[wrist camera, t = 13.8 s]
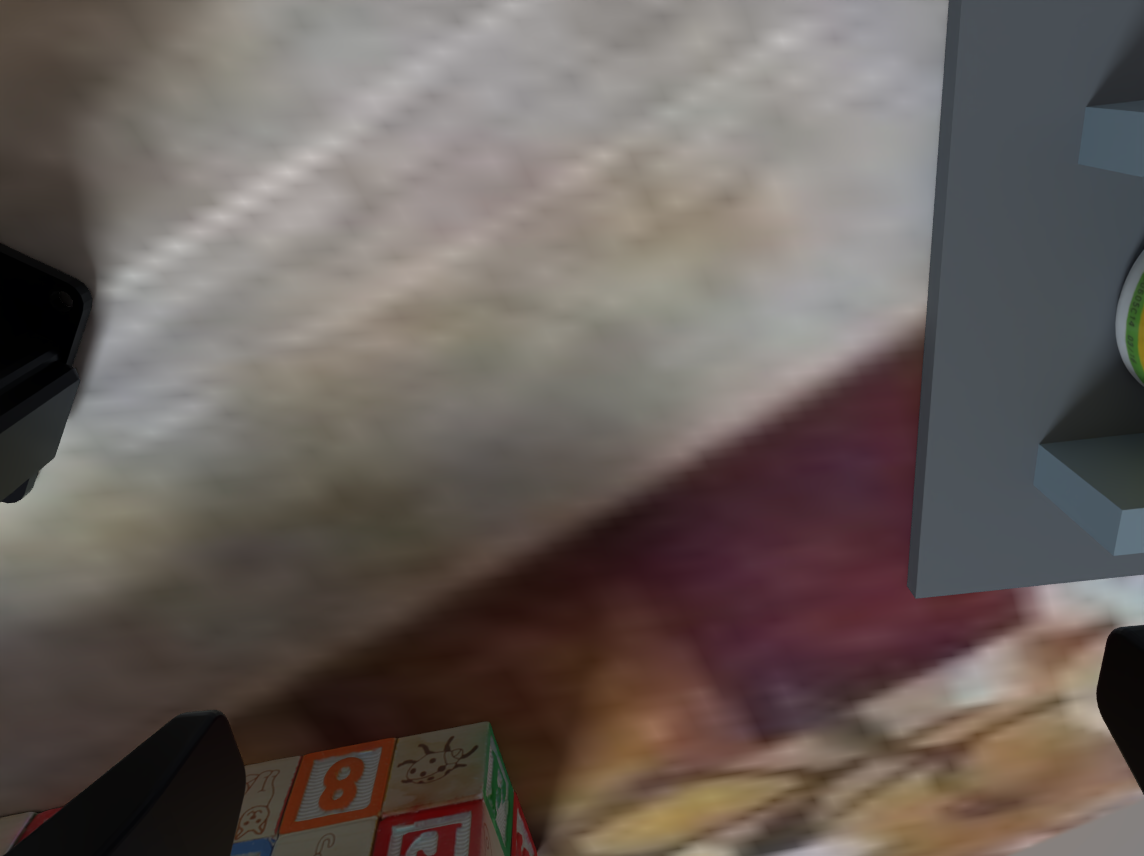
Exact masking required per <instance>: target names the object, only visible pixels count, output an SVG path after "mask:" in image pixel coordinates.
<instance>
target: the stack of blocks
mask: <svg viewBox="0 0 1144 856" xmlns="http://www.w3.org/2000/svg"><path fill="white" fill-rule="evenodd" d="M244 767H245V772H246V789H245V794H244V799H243V803H242V807H241V812H240V816H239V820H238V825H237V829H236V833H235V838H234V842H233V846H232V851H231V855H230V856H537V851H536V847H535V845H534V842H533V839H532V836H531V833H530V831H529V828H528V825H527V822H526V819H525V816H524V814H523V811H522V808H521V806H520V803H519V800H518V797H517V794H516V793H515V791H514V790H513V788H512V785H511V782H510V779H509V776H508V774H507V771H506V768H505V765H504V762H503V759H502V756H501V753H500V750H499V748H498V745H497V742H496V739H495V737H494V734H493V730H492V727H491V724H490V723H489V722H481V723H475V724H470V725H465V726H460V727H455V728H450V729H444V730H439V731H434V732H429V733H423V734H418V735H413V736H408V737H402V738H386V739H381V740H376V741H371V742H366V743H361V744H356V745H351V746H346V747H341V748H336V749H330V750H325V751H320V752H315V753H310V754H306V755H304V756H294V757H289V758H283V759H277V760H272V761H267V762H262V763H257V764H252V765H247V766H244ZM61 808H63V807H60V808H56V809H51V810H47V811H44V812H42V813H38V814H37V813H35V812H26V813H21V814H17V815H12V816H7V817H2V818H0V856H3V855H4V854H6V853H7V852H8V851H9V850H11V849H12V848H13V847H14V846H15V845H17V844H18V843H19V842H20V841H22V840H23V839H24V838H25V837H27V836H28V835H29V834H30V833H32V832H33V831H34V830H35V829H37V828H38V827H39V826H40V825H42V824H43V823H44V822H45V821H47V820H48V819H49V818H50V817H52V816H53V815H54V814H55V813H56V812H58V811H59V810H60V809H61Z"/></svg>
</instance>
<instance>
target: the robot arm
mask: <svg viewBox="0 0 1144 856" xmlns="http://www.w3.org/2000/svg"><path fill="white" fill-rule="evenodd" d="M59 291H63V292H65V293H67V294H68V295H69V296H70V297H71V299H72V301H73V307H69V306H67V305H65V304H64V303H63V302H62V301H61V299H60V297H59ZM91 307H92V296H91V293H90V291H89V289H88V288H87V287H86V286H85V284H84V283H82V282H81V281H79V280H78V279H76V278H74V277H72V276H70V275H68V274H66V273H63V272H61V271H59V270H57V269H55V268H53V267H51V266H48V265H46V264H44V263H42V262H40V261H38V260H35V259H33V258H31V257H29V256H27V255H25V254H23V253H20V252H18V251H16V250H14V249H12V248H10V247H8V246H5V245H3V244H1V243H0V502H5V503H15V502H17V501H19V500H21V499H22V498H23V497H25V496H26V495H27V494H28V493H29V492H30V491H31V490H32V488H33V486H34V483H35V480H36V477H37V474H38V471H39V470H40V469H41V468H43V467H44V466H45V465H46V464H47V463H49V462H50V461H51V460H52V459H53V458H54V457H55V455H56V452H57V449H58V446H59V443H60V440H61V437H62V434H63V431H64V428H65V425H66V422H67V419H68V416H69V413H70V410H71V407H72V404H73V401H74V398H75V395H76V391H77V388H78V385H79V382H80V379H79V376H78V373H77V370H76V368H74V367H72V366H73V363H74V360H75V357H76V354H77V350H78V347H79V344H80V341H81V338H82V335H83V332H84V329H85V326H86V323H87V320H88V316H89V313H90V310H91ZM1096 694H1097V703H1098V708H1099V710H1100V713H1101V716H1102V718H1103V720H1104V722H1105V724H1106V725H1107V727H1108V729H1109V731H1110V733H1111V735H1112V737H1113V738H1114V740H1115V742H1116V744H1117V746H1118V748H1119V750H1120V751H1121V753H1122V755H1123V757H1124V759H1125V761H1126V763H1127V764H1128V766H1129V768H1130V770H1131V772H1132V774H1133V776H1134V777H1135V779H1136V781H1137V783H1138V785H1139V787H1140V789H1141V790H1142V792H1143V794H1144V625H1139V626H1128V627H1119V628H1117V629H1114V630H1113V631H1112V632H1111V633H1110V635H1109V636H1108V639H1107V642H1106V647H1105V652H1104V656H1103V661H1102V666H1101V671H1100V675H1099V680H1098V685H1097V692H1096ZM245 789H246V772H245V767H244V763H243V761H242V758H241V755H240V752H239V750H238V747H237V744H236V741H235V739H234V736H233V733H232V730H231V727H230V725H229V722H228V720H227V718H226V716H225V715H224V714H223V713H222V712H221V711H217V710H207V711H196V712H186V713H182V714H180V715H178V716H176V717H175V718H173V719H172V720H171V721H169V722H168V723H167V724H166V725H165V726H163V727H162V728H161V729H160V730H158V731H157V732H156V733H155V734H153V735H152V736H151V737H150V738H148V739H147V740H146V741H145V742H143V743H142V744H141V745H140V746H138V747H137V748H136V749H135V750H133V751H132V752H131V753H130V754H129V755H127V756H126V757H125V758H124V759H122V760H121V761H120V762H119V763H117V764H116V765H115V766H114V767H112V768H111V769H110V770H109V771H107V772H106V773H105V774H104V775H102V776H101V777H100V778H99V779H97V780H96V781H95V782H94V783H92V784H91V785H90V786H89V787H88V788H86V789H85V790H84V791H83V792H81V793H80V794H79V795H78V796H76V797H75V798H74V799H73V800H71V801H70V802H69V803H68V804H66V805H65V806H64V807H63V808H61V809H60V810H59V811H58V812H56V813H55V814H54V815H53V816H52V817H50V818H49V819H48V820H47V821H45V822H44V823H43V824H42V825H40V826H39V827H38V828H37V829H35V830H34V831H33V832H32V833H30V834H29V835H28V836H27V837H25V838H24V839H23V840H22V841H20V842H19V843H18V844H17V845H15V846H14V847H13V848H12V849H11V850H9V851H8V852H7V853H6V854H4V855H3V856H230V855H231V851H232V846H233V842H234V838H235V833H236V829H237V825H238V820H239V816H240V812H241V807H242V803H243V799H244V794H245Z"/></svg>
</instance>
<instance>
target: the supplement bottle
mask: <svg viewBox="0 0 1144 856" xmlns="http://www.w3.org/2000/svg"><path fill="white" fill-rule="evenodd" d="M1115 326H1116V340H1117V345H1118V349H1119V352H1120V355H1121V357H1122V360H1123V362H1124V364H1125V366H1126V368H1127V369H1128V371H1129V372H1130V373H1131V375H1132V376H1133V377H1134V378H1135V379H1136V380H1137V381H1138V382H1139V383H1140V384H1141V385H1142V386H1144V250H1143V251H1142V253H1141V254H1140V255H1139V257H1138V258H1137V260H1136V261H1135V263H1134V264H1133V266H1132V268H1131V270H1130V272H1129V274H1128V276H1127V278H1126V280H1125V283H1124V285H1123V288H1122V291H1121V294H1120V298H1119V301H1118V305H1117V312H1116V321H1115Z"/></svg>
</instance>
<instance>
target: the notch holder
mask: <svg viewBox="0 0 1144 856" xmlns="http://www.w3.org/2000/svg"><path fill="white" fill-rule="evenodd" d="M1143 250H1144V0H949V8H948V22H947V36H946V50H945V64H944V78H943V92H942V106H941V120H940V134H939V148H938V161H937V175H936V189H935V203H934V217H933V231H932V245H931V259H930V273H929V287H928V301H927V315H926V329H925V343H924V357H923V371H922V385H921V399H920V413H919V427H918V441H917V455H916V469H915V483H914V497H913V511H912V525H911V539H910V553H909V567H908V581H907V587H908V588H909V590H910V591H911V592H912V594H913V595H914V597H915V598H925V597H935V596H944V595H954V594H963V593H972V592H982V591H991V590H1001V589H1010V588H1020V587H1029V586H1039V585H1048V584H1058V583H1067V582H1077V581H1086V580H1096V579H1105V578H1115V577H1124V576H1134V575H1143V574H1144V386H1142V385H1141V384H1140V383H1139V382H1138V381H1137V380H1136V379H1135V378H1134V377H1133V376H1132V375H1131V373H1130V372H1129V371H1128V369H1127V368H1126V366H1125V364H1124V362H1123V360H1122V357H1121V355H1120V352H1119V349H1118V345H1117V340H1116V326H1115V321H1116V312H1117V305H1118V301H1119V298H1120V294H1121V291H1122V288H1123V285H1124V283H1125V280H1126V278H1127V276H1128V274H1129V272H1130V270H1131V268H1132V266H1133V264H1134V263H1135V261H1136V260H1137V258H1138V257H1139V255H1140V254H1141V253H1142V251H1143Z"/></svg>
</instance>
